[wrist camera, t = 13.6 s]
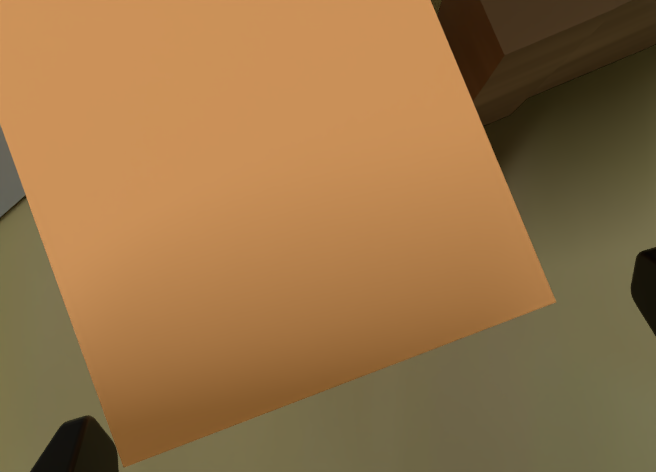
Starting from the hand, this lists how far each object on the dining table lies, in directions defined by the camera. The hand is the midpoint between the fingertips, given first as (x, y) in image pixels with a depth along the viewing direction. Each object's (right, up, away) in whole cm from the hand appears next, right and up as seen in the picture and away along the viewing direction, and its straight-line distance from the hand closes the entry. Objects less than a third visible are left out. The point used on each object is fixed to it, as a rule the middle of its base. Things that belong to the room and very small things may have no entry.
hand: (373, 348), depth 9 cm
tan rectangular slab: (-1, +3, +8) cm, 8 cm away
